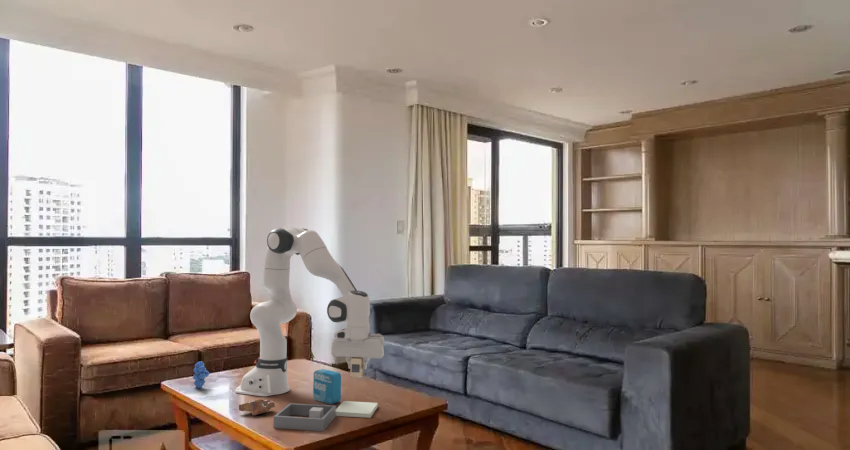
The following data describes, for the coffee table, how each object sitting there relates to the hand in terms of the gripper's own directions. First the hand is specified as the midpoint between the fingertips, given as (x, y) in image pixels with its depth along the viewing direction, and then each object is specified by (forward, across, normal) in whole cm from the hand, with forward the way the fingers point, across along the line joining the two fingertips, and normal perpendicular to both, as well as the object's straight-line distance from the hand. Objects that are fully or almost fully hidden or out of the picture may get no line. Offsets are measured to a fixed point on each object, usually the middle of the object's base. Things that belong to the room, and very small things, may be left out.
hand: (357, 368), depth 225 cm
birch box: (+3, 0, 0) cm, 3 cm away
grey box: (+16, +11, +16) cm, 25 cm away
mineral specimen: (+16, +36, +9) cm, 41 cm away
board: (+16, 0, 0) cm, 16 cm away
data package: (+16, +15, -11) cm, 25 cm away
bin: (+16, +15, +16) cm, 27 cm away
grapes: (+16, +74, -19) cm, 78 cm away
